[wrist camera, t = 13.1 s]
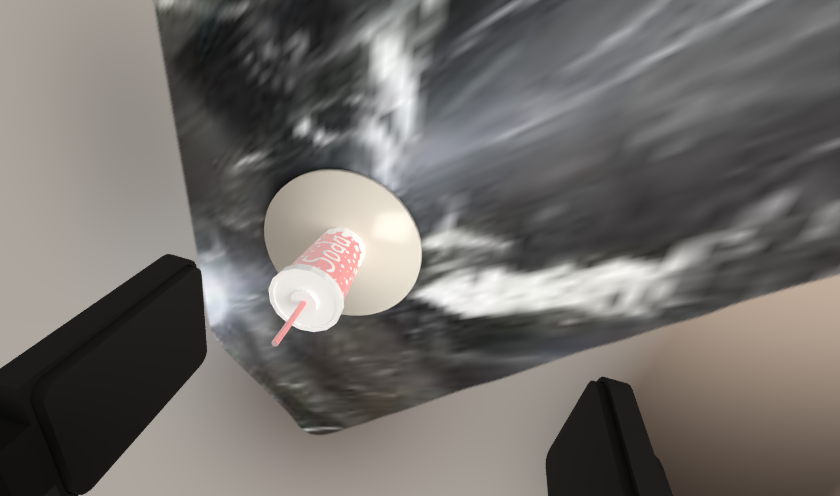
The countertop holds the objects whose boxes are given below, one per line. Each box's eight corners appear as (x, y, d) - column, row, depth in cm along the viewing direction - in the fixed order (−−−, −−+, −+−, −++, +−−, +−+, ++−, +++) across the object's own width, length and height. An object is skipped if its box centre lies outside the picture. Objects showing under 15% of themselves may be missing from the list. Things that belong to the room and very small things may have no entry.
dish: (271, 148, 39) (265, 151, 38) (439, 192, 38) (437, 197, 37) (268, 286, 47) (262, 292, 46) (406, 325, 46) (404, 332, 45)
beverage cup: (384, 247, 40) (332, 345, 28) (351, 285, 43) (291, 389, 31) (332, 207, 39) (255, 291, 27) (302, 249, 42) (220, 342, 30)
